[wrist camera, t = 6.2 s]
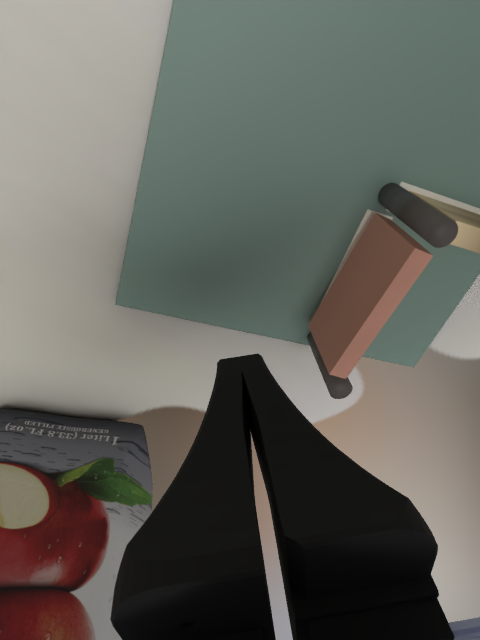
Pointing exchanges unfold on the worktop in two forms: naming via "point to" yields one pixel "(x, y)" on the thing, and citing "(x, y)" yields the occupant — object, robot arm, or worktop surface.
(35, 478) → the juice carton
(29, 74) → the worktop surface
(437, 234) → the tan and grey block
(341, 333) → the gate panel
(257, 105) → the card
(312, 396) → the worktop surface
